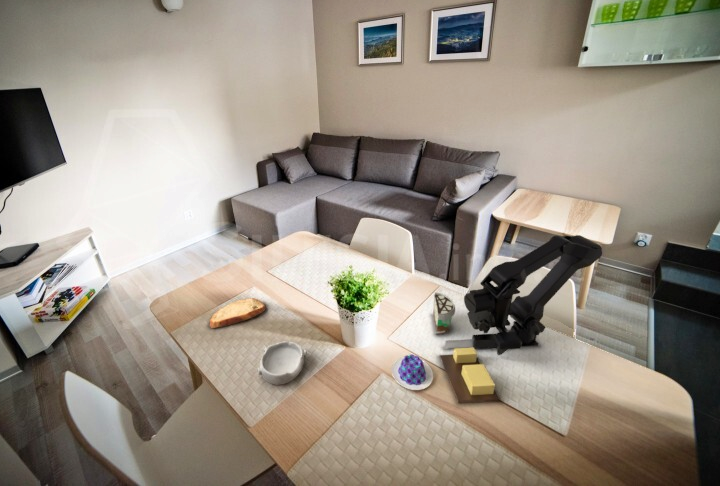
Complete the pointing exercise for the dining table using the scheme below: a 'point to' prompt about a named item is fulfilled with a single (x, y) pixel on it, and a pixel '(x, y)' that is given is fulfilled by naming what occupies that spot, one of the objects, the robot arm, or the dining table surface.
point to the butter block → (477, 379)
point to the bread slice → (237, 312)
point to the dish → (282, 362)
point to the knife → (473, 342)
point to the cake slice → (442, 313)
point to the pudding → (412, 372)
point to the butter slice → (464, 355)
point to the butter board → (462, 381)
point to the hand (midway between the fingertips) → (492, 343)
